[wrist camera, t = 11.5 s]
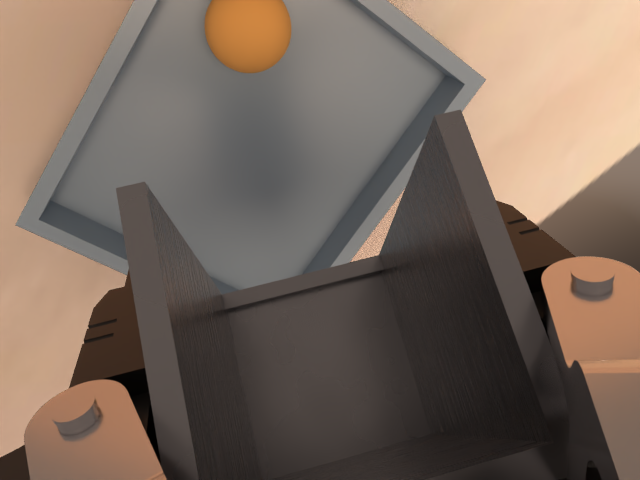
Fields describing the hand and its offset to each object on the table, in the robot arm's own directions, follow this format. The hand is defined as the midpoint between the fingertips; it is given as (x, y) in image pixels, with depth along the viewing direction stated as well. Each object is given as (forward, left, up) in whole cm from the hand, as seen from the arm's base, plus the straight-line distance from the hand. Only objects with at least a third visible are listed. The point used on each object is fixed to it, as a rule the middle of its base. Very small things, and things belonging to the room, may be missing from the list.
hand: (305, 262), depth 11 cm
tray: (-1, -1, -13) cm, 13 cm away
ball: (+3, +2, -11) cm, 12 cm away
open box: (-3, -3, -2) cm, 5 cm away
